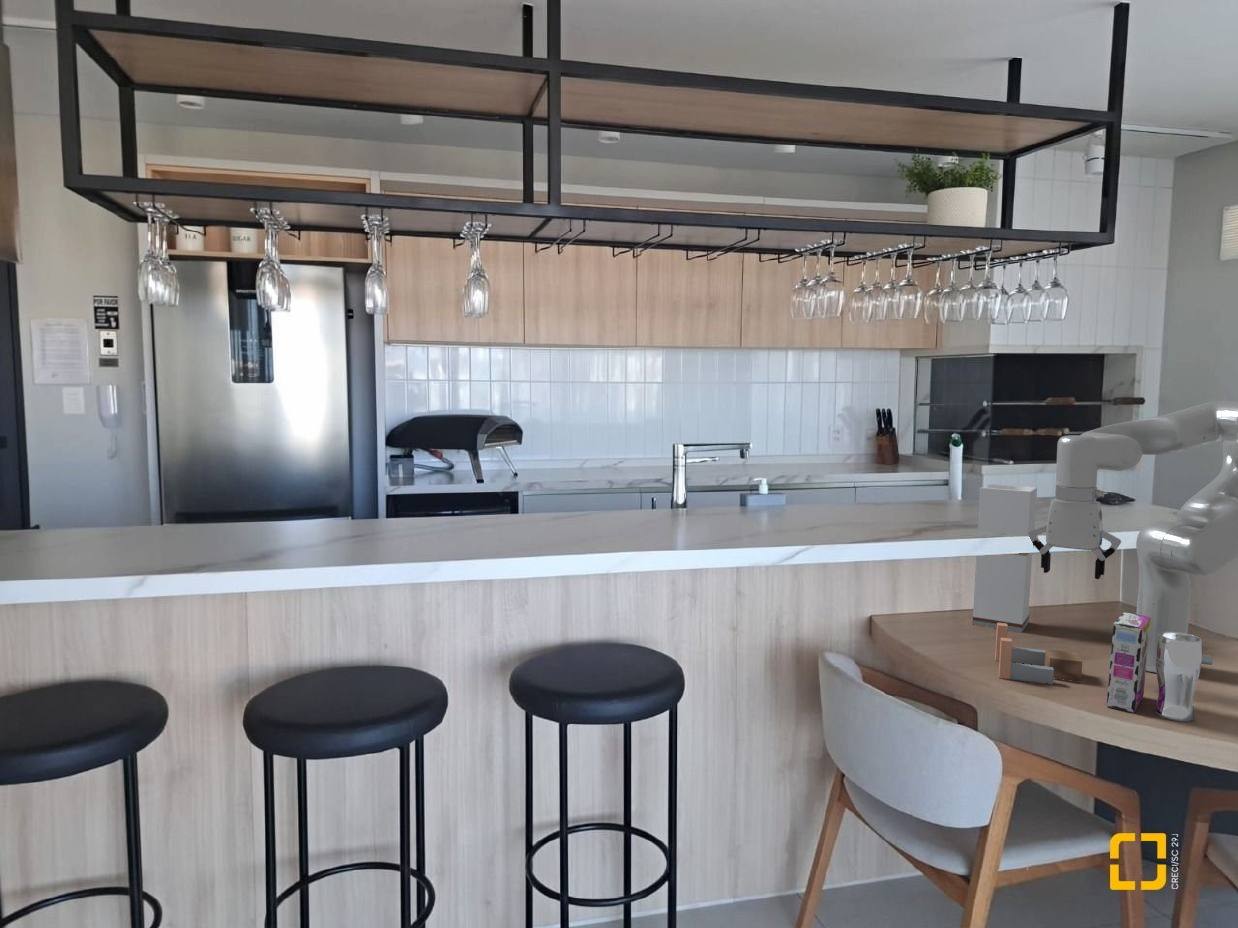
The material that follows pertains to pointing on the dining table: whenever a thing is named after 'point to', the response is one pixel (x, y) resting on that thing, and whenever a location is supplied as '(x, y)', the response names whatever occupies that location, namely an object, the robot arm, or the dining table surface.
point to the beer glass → (1177, 674)
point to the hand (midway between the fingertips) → (1071, 574)
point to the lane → (1020, 660)
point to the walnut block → (1064, 664)
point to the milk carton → (1128, 661)
